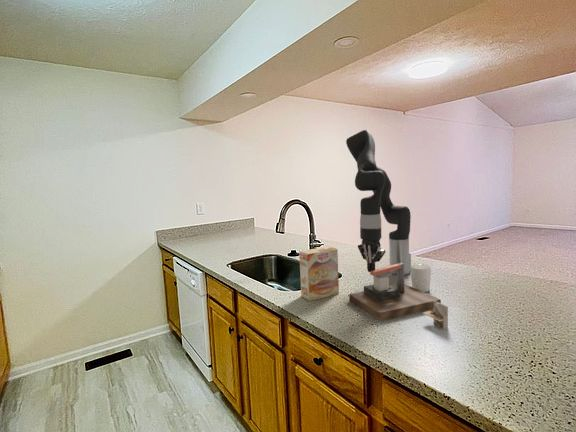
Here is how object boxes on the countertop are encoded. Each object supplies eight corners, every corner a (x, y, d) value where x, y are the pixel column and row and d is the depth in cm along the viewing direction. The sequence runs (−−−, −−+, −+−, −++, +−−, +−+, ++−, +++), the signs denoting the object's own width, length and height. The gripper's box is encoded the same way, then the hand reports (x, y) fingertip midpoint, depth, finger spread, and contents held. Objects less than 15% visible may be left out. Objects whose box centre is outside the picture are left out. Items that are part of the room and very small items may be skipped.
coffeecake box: (309, 301, 131) (307, 253, 129) (300, 296, 138) (298, 250, 136) (339, 293, 138) (338, 248, 136) (330, 289, 145) (328, 245, 142)
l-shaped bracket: (400, 289, 130) (399, 262, 129) (405, 291, 128) (405, 263, 127) (370, 299, 121) (369, 270, 120) (375, 301, 119) (375, 272, 118)
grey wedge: (440, 332, 102) (439, 308, 101) (423, 323, 108) (423, 301, 107) (448, 329, 103) (448, 306, 102) (431, 321, 109) (431, 299, 108)
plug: (383, 292, 129) (382, 268, 128) (391, 296, 124) (391, 272, 123) (371, 294, 127) (370, 270, 126) (379, 299, 122) (379, 274, 121)
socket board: (404, 290, 138) (403, 276, 137) (440, 307, 119) (440, 291, 118) (349, 301, 129) (348, 286, 128) (379, 321, 110) (379, 304, 110)
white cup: (431, 287, 140) (431, 264, 139) (430, 293, 133) (430, 269, 132) (411, 285, 143) (411, 263, 142) (410, 291, 136) (409, 268, 135)
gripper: (351, 225, 124) (352, 269, 126) (375, 229, 112) (375, 278, 115) (366, 222, 127) (367, 266, 130) (391, 227, 116) (391, 274, 118)
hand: (371, 271), depth 122 cm, fingers closed
